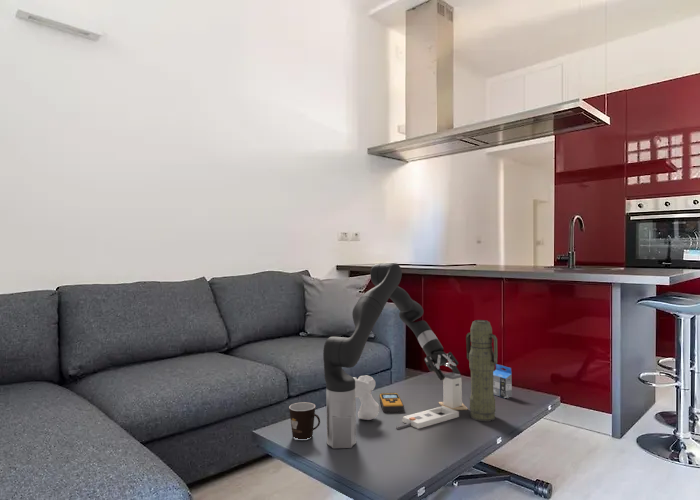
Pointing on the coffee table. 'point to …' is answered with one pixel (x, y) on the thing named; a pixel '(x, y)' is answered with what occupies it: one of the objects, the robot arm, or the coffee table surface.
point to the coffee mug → (303, 419)
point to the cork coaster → (456, 407)
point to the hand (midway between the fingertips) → (450, 377)
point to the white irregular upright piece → (366, 397)
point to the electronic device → (391, 402)
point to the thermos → (481, 369)
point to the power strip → (428, 417)
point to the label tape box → (502, 381)
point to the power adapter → (452, 390)
